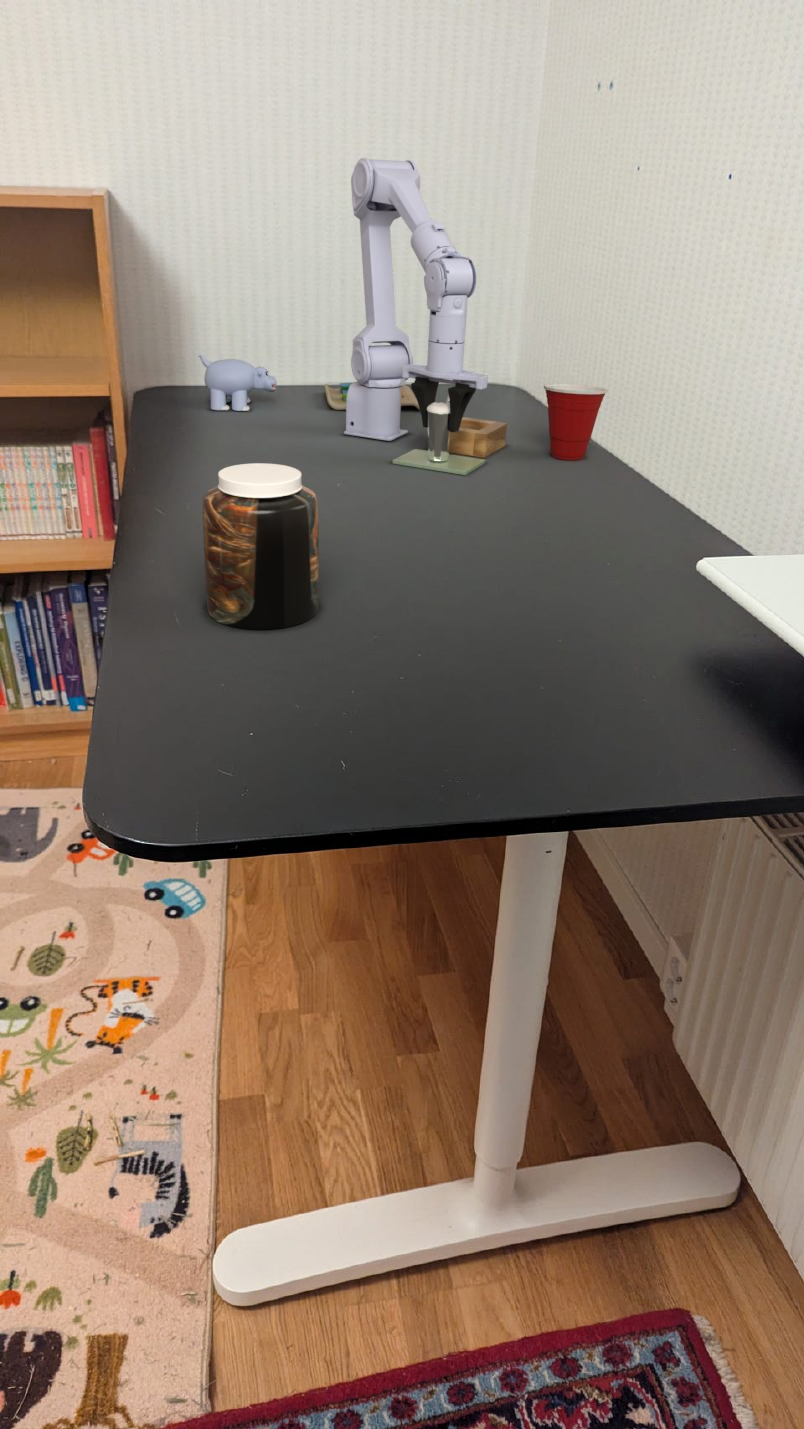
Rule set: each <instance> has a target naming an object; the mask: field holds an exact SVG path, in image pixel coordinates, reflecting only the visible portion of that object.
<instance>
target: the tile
mask: <svg viewBox="0 0 804 1429" xmlns="http://www.w3.org/2000/svg"><path fill="white" fill-rule="evenodd" d="M392 464H394V465H398V466H405V467H412V468H418V469H424V470H431V471H437V472H443V473H448V474H456V475H462V476H467V475H468V474H470V473H472V472H473V471H475V470H477V469H478V468H480V467H482V466H484V465H485V464H486V459H484V458H483V459H482V458H478V457H470V456H465V455H458V454H451V453H449V456H448V460H446V461H432V460H430V459H429V458H428V450H425V449H420V448H419V449H417V448H413V449H412V450H410V451H407V452H405V453H404V454H402V455H400V456H397V457H396V458H394V459H392Z"/></svg>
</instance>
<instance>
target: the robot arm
mask: <svg viewBox="0 0 804 1429" xmlns="http://www.w3.org/2000/svg"><path fill="white" fill-rule="evenodd" d="M350 184H351V185H350V186H351V187H350V188H351V201H352V213H353V216H354V217H356V218H357V219H358V221H359V231H360V232H359V233H360V245H361V246H360V247H361V260H362V261H361V262H362V264H361V265H362V276H363V278H362V279H363V291H364V292H363V293H364V294H363V295H364V307H365V321H366V323H365V324H366V325H365V327H364V328H362V330H361V331H360V332H359V333H358V334H357V335H356V336H355V337H354V338H353V339H352V353H351V357H350V358H351V359H350V367H351V372H352V375H353V378H354V379H355V380H356V381H352V382H353V383H352V382H351V383H352V384H351V385H350V387H349V389H348V392H347V398H346V410H345V430H344V431H343V434H344V435H347V436H354V437H361V438H367V439H374V440H379V441H386V442H392V441H394V440H396V439H398V438H400V437H402V436H405V435H406V434H408V433H409V430H408V429H403V428H402V429H401V412H402V409H401V408H402V406H401V389H402V385H406V381H407V380H409V379H414V382H411V384H410V389H411V391H412V392H413V394H414V396H415V397H416V399H417V401H418V404H419V408H420V410H419V412H420V416H421V423H422V427H423V428H426V429H428V423H427V407H428V406H429V405H430V404H432V403H434V402H436V399H437V398H436V397H437V392H438V388H439V385H440V383H442V384H449V385H454V386H451V387H448V388H447V394H449V404H450V421H449V431H450V432H456V431H459V428H460V424H461V421H462V417H464V414H465V412H466V409H467V407H468V405H469V403H470V401H471V400H472V398H473V396H474V394H475V393H476V390H481V391H482V390H485V389H487V388H488V379H489V375H486V374H481V373H477V372H473V371H468V370H464V359H465V358H464V356H465V341H466V326H467V312H468V301H469V300H468V299H469V298H470V297H472V296H473V295H474V292H475V290H476V288H477V282H478V275H477V269H476V265H475V264H474V260H473V259H472V258H471V257H469V256H464V254H463V253H459V252H458V250H457V249H456V247H455V245H454V243H453V241H452V239H451V237H450V235H449V234H448V232H447V230H446V228H445V226H444V225H443V223H442V222H439V221H437V220H432V217H431V215H430V213H429V211H428V208H427V206H426V203H425V202H424V199H423V197H422V194H421V192H420V189H421V174H420V172H419V169H418V167H417V165H416V163H415V162H414V161H413V160H411V159H406V160H392V159H391V160H390V159H373V158H367V157H361V158H359V159H358V161H357V162H356V164H355V166H354V168H353V172H352V174H351V178H350ZM400 218H401V219H402V220H403V222H404V223H405V224H406V226H407V227H408V229H409V230H410V232H411V236H410V247H411V249H412V251H413V253H414V254H415V256H416V258H417V260H418V261H419V263H420V265H421V267H422V269H423V271H424V273H425V274H424V275H423V285H424V290H425V293H426V306H427V309H428V310H429V321H428V323H429V324H428V342H427V359H426V360H427V362H426V364H427V365H424V364H423V365H422V364H414V357H413V353H412V351H411V346H410V340H409V336H408V335H407V333H405V332H404V331H403V329H401V328H400V327H399V326H398V325H397V324H396V323H397V322H396V308H395V306H396V305H395V290H394V289H395V288H394V274H393V272H394V271H393V253H392V239H391V237H392V236H391V227H392V224H393V222H394V221H395V220H397V219H400ZM371 344H378V345H371ZM379 344H381V345H379ZM382 344H383V345H382Z"/></svg>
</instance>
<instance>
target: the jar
mask: <svg viewBox="0 0 804 1429" xmlns="http://www.w3.org/2000/svg"><path fill="white" fill-rule="evenodd" d="M302 478H303V477H302V472H301V471H300V470H299V469H297V468H295V467H292V466H289V465H285V464H278V463H266V462H265V463H262V462H255V463H254V462H253V463H241V464H234V465H231V466H226V467H224V468H222V469H220V470H219V471H218V473H217V483H218V484H217V485H216V486H214V487H211V488H210V489H208V490H207V491H206V492H205V494H204V496H203V501H202V524H203V525H202V527H203V529H202V530H203V531H202V532H203V553H204V573H205V590H206V605H207V607H206V608H207V614H208V615H209V616H210V617H211V618H212V619H213V620H214V621H216V622H218V623H220V624H222V625H226V626H229V627H234V628H238V629H244V630H245V629H246V630H275V629H276V630H277V629H283V628H289V627H294V626H296V625H297V626H298V625H300V624H302V623H306V622H307V621H309V620H311V619H312V618H314V617H315V616H316V615H317V613H318V611H319V588H320V587H319V580H320V578H319V576H320V575H319V574H320V572H319V570H320V568H319V565H320V564H319V563H320V560H319V559H320V558H319V557H320V556H319V554H320V552H319V551H320V550H319V549H320V548H319V546H320V545H319V544H320V543H319V542H320V541H319V539H320V538H319V535H320V534H319V533H320V532H319V505H318V498H317V495H316V493H315V492H314V491H313V490H312V489H310V488H309V487H307V486H304V485H303V483H302V480H303V479H302Z"/></svg>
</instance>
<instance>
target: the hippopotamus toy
mask: <svg viewBox="0 0 804 1429" xmlns="http://www.w3.org/2000/svg"><path fill="white" fill-rule="evenodd" d="M197 357H198V358H200V361H201V363H202V365H203V366H204V367H205V368H206V369H205V372H204V377H203V379H204V384H205V387H206V389H208V390H209V391H210V409H211V410H213V411H226V412H227V411H229V410H230V406H229V405H228V403H231V409H232V410H233V411H235V412H248V411H250V406H249V405H248V404H249V403H251V401H252V400H251V399H250V398H249V394H250V392H252V391H253V390H254V389H256V390H264V391H266V392H269V393H274V392H276V390H277V387H276V385H278V381H277V379H276V375H269V370H268V369H267V368H266V367H265V366H264V367H263V366H261V365H258V367H254V365H253V364H252V363H249V362H246V361H245V360H241V359H238V358H237V359H236V358H223V359H219V360H215V361H212V362H211V361H208V360H207V359H206V358H205V357H204V356H203V355H201V354H198V356H197ZM248 393H249V394H248Z"/></svg>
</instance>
